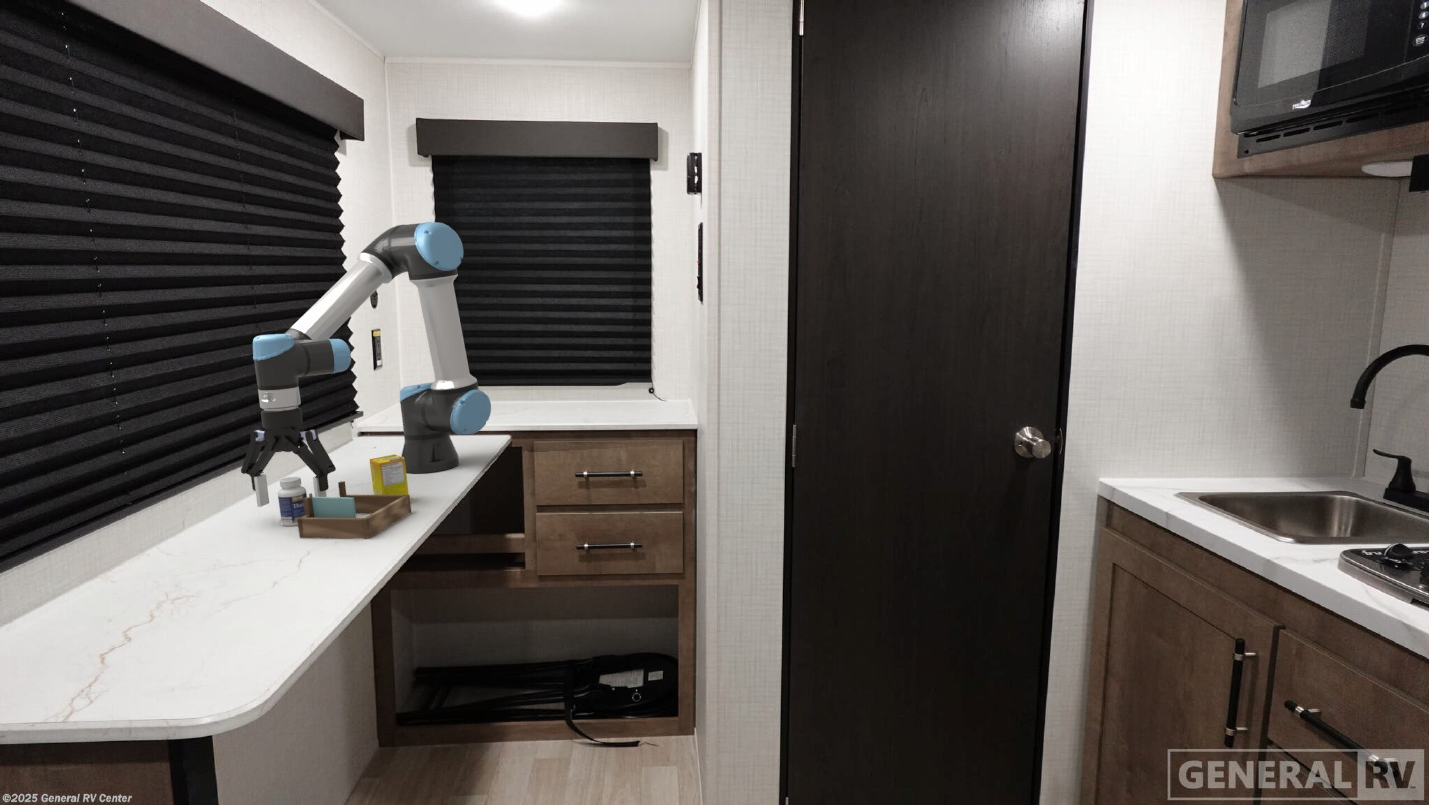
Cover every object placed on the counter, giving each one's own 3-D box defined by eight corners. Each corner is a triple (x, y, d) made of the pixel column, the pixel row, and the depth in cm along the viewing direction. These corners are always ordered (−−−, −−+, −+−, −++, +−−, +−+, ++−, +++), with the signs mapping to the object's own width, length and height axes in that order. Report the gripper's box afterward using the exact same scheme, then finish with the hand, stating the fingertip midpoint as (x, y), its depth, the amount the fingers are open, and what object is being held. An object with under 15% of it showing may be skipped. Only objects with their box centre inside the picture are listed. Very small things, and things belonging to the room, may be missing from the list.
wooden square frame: (348, 511, 175) (344, 477, 173) (411, 512, 173) (407, 477, 171) (299, 538, 158) (294, 500, 157) (368, 538, 156) (364, 500, 155)
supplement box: (399, 498, 184) (394, 453, 182) (410, 503, 180) (405, 457, 178) (373, 504, 180) (368, 458, 178) (384, 509, 175) (379, 462, 174)
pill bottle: (297, 527, 165) (292, 482, 164) (276, 526, 166) (270, 482, 165) (315, 519, 170) (310, 476, 169) (294, 518, 171) (288, 475, 170)
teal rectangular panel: (357, 530, 161) (353, 497, 159) (355, 531, 160) (351, 498, 159) (318, 529, 162) (314, 496, 161) (316, 530, 162) (311, 497, 161)
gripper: (213, 411, 162) (226, 509, 165) (324, 410, 159) (336, 511, 162) (239, 405, 169) (251, 499, 173) (346, 404, 166) (356, 500, 170)
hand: (292, 505), depth 167 cm, fingers open, 13 cm apart
